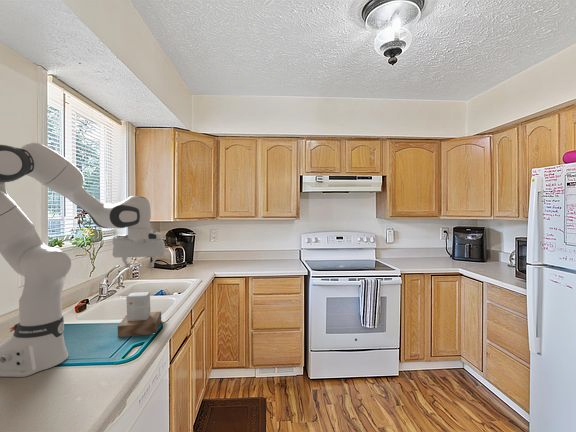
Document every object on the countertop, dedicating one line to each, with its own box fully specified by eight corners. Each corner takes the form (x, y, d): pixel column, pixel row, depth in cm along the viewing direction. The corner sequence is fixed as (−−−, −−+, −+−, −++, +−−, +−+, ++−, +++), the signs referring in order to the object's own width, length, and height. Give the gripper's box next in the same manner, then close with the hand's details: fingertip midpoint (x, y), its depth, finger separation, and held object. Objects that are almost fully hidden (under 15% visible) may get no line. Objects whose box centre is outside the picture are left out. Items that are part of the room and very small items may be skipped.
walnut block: (117, 338, 123) (117, 326, 123) (127, 325, 136) (127, 313, 136) (155, 335, 126) (155, 323, 126) (161, 322, 140) (161, 311, 139)
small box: (150, 315, 134) (150, 291, 134) (147, 320, 129) (146, 295, 128) (131, 316, 133) (130, 292, 133) (126, 321, 127) (126, 296, 127)
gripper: (109, 235, 125) (110, 269, 125) (163, 235, 129) (163, 268, 129) (115, 234, 131) (115, 266, 132) (166, 233, 135) (166, 265, 135)
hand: (139, 267), depth 130 cm, fingers open, 8 cm apart
